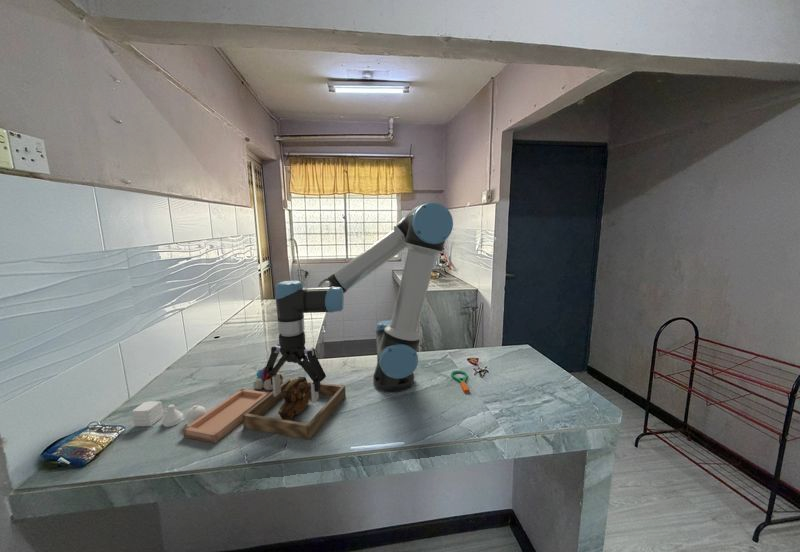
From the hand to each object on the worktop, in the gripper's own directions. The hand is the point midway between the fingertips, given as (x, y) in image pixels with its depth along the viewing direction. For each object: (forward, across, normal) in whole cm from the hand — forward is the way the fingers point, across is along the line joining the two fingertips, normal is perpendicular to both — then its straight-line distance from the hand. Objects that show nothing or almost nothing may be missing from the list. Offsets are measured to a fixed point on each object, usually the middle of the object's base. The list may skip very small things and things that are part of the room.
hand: (296, 397), depth 97 cm
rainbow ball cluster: (+5, +20, -12) cm, 24 cm away
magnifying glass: (+4, -49, -30) cm, 57 cm away
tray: (+5, +18, +7) cm, 21 cm away
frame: (+5, 0, 0) cm, 5 cm away
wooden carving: (+5, 0, 0) cm, 5 cm away
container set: (+6, +34, +13) cm, 37 cm away
